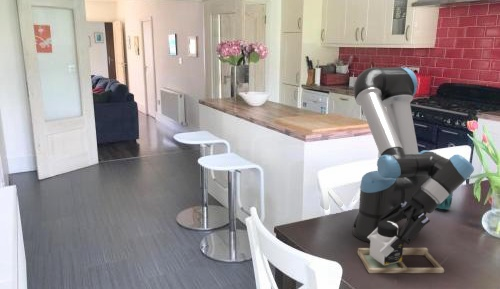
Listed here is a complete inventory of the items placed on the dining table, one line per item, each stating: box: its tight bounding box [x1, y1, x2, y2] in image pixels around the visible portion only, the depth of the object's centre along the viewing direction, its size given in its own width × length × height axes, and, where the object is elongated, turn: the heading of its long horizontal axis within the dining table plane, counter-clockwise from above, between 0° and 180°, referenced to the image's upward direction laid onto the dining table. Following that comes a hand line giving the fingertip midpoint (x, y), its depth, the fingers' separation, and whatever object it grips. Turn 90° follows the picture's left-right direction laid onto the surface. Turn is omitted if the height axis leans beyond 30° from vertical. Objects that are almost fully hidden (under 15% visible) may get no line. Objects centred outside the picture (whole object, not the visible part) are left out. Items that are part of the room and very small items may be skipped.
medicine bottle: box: [369, 221, 404, 265], centre depth 125 cm, size 7×7×12 cm
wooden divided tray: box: [357, 247, 445, 274], centre depth 127 cm, size 23×12×2 cm, turn 91°
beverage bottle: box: [436, 191, 454, 210], centre depth 168 cm, size 6×7×20 cm
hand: (376, 246), depth 125 cm, fingers closed on medicine bottle, 8 cm apart
